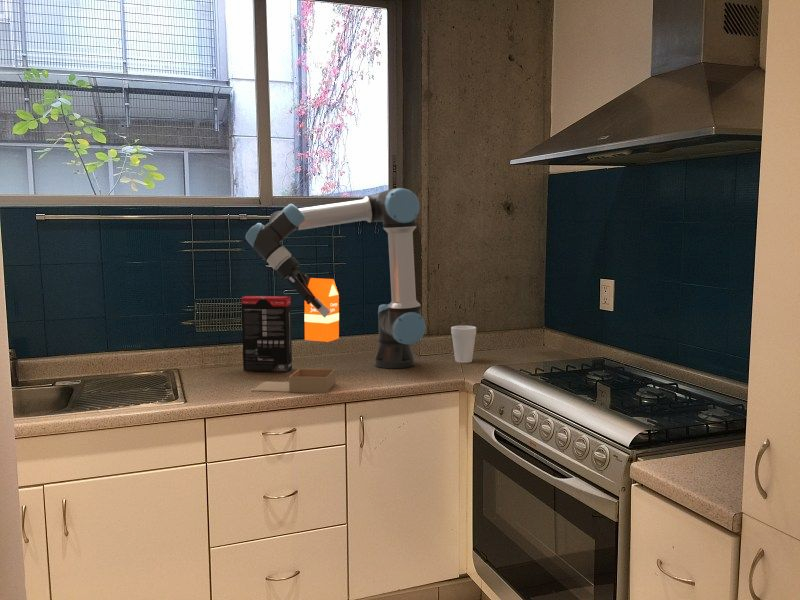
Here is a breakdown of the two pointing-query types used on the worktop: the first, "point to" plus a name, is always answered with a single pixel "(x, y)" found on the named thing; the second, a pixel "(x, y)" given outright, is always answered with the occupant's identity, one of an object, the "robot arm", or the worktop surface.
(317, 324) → the orange juice
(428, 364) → the worktop surface
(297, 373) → the kraft mailer box
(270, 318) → the graphics card box
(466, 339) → the foam cup
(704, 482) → the worktop surface
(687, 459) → the worktop surface
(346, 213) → the robot arm
